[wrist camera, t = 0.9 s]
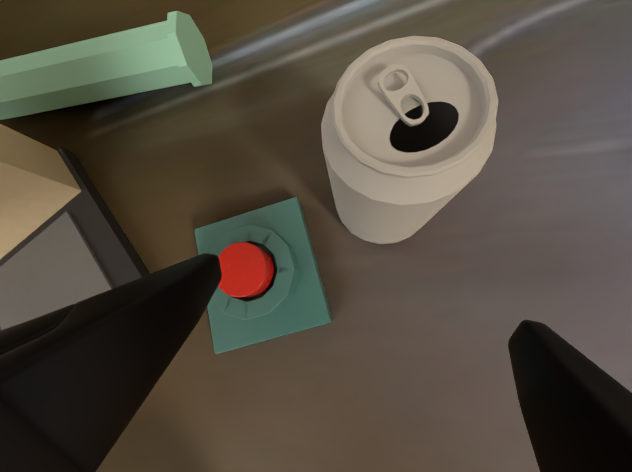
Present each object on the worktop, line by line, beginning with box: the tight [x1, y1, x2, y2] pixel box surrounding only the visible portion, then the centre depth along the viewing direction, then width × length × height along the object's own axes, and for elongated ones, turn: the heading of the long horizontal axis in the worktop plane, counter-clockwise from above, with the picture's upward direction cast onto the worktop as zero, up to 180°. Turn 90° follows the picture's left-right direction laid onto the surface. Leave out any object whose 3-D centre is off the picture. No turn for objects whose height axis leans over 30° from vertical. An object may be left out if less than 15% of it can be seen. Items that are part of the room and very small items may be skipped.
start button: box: [218, 242, 274, 297], centre depth 18 cm, size 4×4×2 cm
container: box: [0, 11, 212, 120], centre depth 26 cm, size 6×6×25 cm
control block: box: [194, 197, 333, 354], centre depth 20 cm, size 10×9×4 cm
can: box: [321, 36, 499, 244], centre depth 16 cm, size 8×8×12 cm
